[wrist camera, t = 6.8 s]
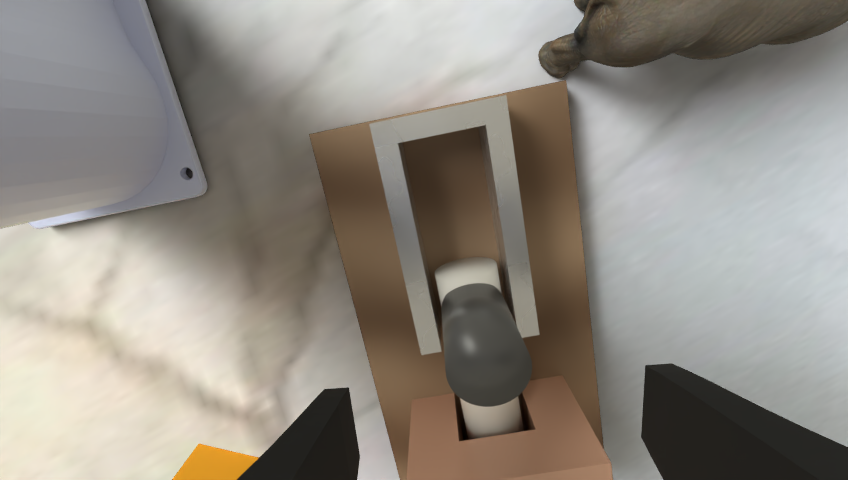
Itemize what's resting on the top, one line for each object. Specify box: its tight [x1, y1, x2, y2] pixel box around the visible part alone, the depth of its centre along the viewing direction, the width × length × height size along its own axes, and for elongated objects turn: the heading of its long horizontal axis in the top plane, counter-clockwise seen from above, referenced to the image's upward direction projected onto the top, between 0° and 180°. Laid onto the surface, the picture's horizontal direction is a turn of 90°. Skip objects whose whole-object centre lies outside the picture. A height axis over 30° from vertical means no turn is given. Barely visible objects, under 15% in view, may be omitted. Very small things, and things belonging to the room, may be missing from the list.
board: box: [309, 80, 604, 480], centre depth 18 cm, size 18×10×1 cm, turn 11°
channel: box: [369, 95, 540, 355], centre depth 15 cm, size 9×5×2 cm, turn 11°
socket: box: [407, 375, 613, 480], centre depth 16 cm, size 4×7×5 cm, turn 101°
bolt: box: [435, 257, 532, 440], centre depth 15 cm, size 9×2×6 cm, turn 11°
